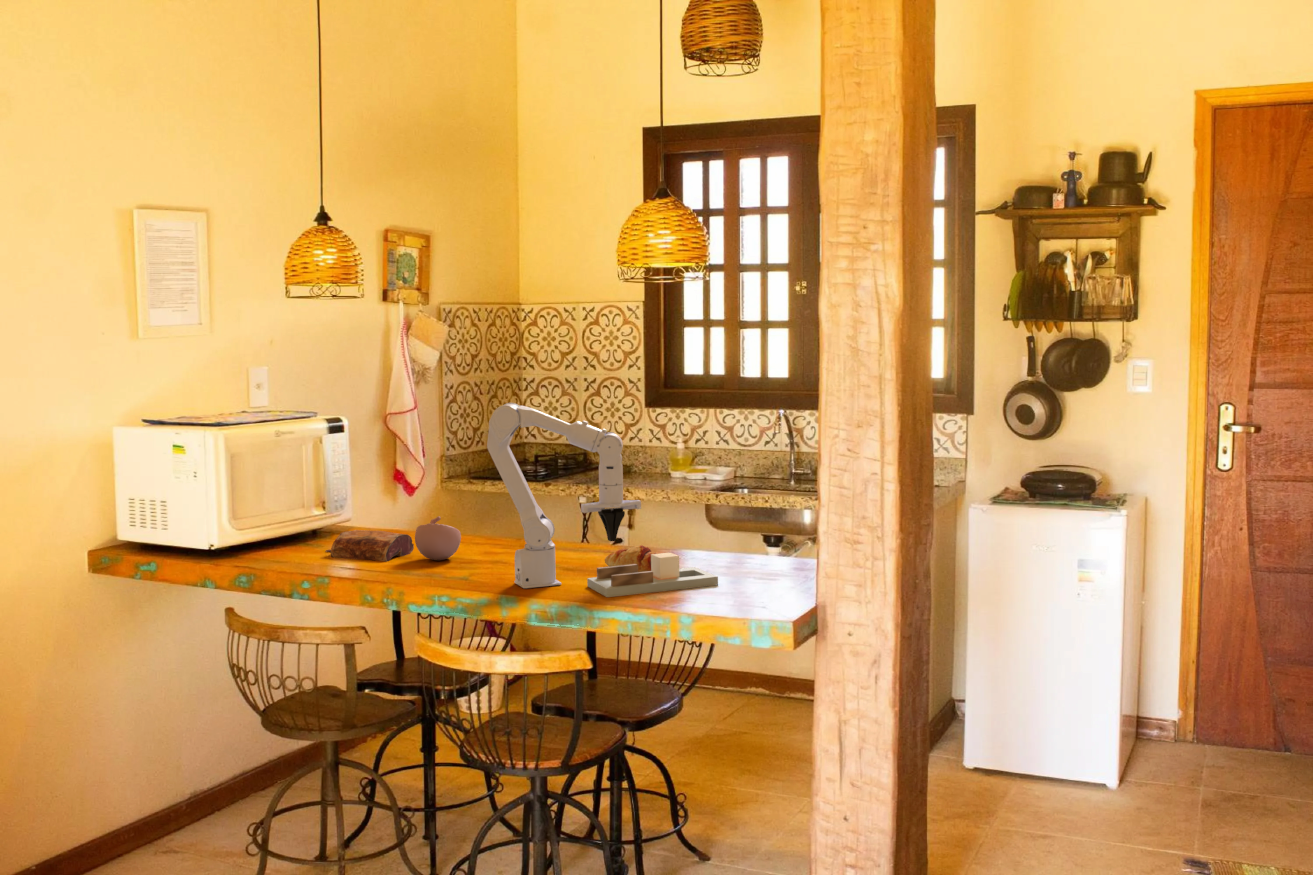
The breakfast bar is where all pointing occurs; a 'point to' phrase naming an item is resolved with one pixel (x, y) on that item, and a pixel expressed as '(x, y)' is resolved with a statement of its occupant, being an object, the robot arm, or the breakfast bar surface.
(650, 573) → the parallel rails
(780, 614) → the breakfast bar surface
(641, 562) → the croissant
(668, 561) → the cube
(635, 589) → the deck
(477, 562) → the breakfast bar surface
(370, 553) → the cured meat
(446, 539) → the pink apple
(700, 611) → the breakfast bar surface
